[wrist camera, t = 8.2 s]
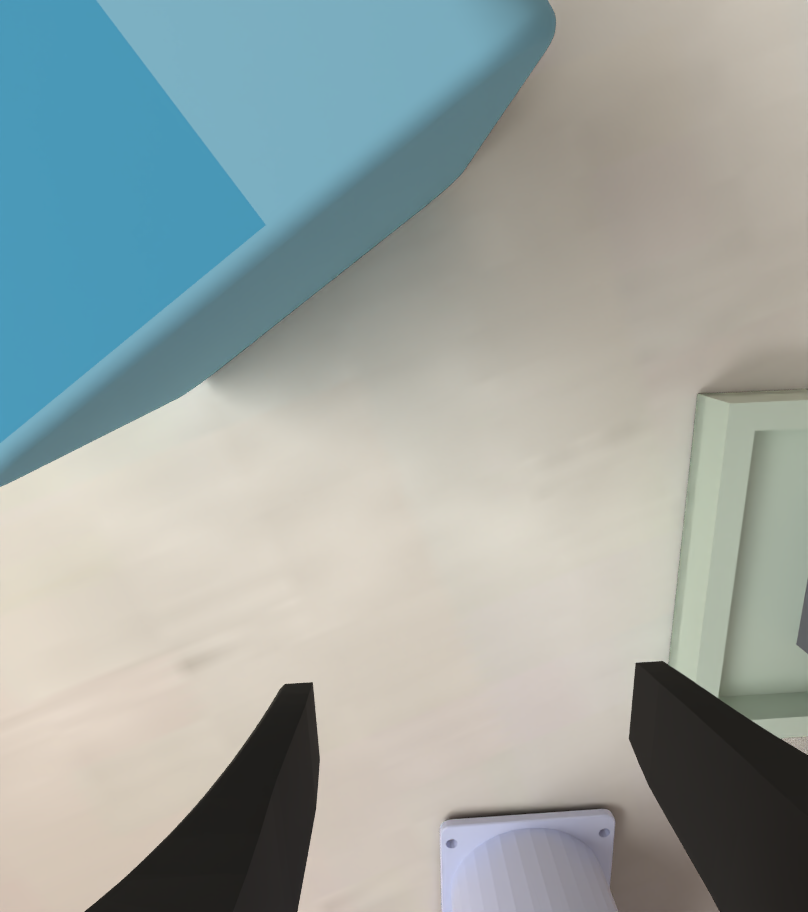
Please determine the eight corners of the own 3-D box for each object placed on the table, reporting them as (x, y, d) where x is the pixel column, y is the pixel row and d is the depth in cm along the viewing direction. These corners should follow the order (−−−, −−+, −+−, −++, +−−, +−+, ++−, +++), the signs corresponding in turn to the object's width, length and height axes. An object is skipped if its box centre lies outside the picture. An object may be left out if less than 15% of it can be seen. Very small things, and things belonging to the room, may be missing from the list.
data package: (378, 50, 18) (382, -427, 6) (461, 178, 19) (599, -16, 7) (95, 289, 19) (-338, 274, 7) (187, 395, 20) (-67, 524, 9)
